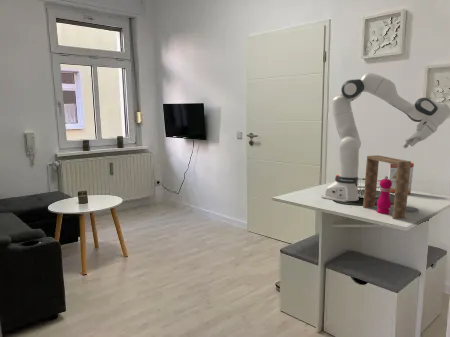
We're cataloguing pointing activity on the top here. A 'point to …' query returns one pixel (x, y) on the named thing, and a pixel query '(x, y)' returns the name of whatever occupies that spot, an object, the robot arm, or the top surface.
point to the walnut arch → (400, 187)
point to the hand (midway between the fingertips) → (407, 146)
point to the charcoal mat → (411, 209)
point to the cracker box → (393, 175)
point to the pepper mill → (384, 196)
